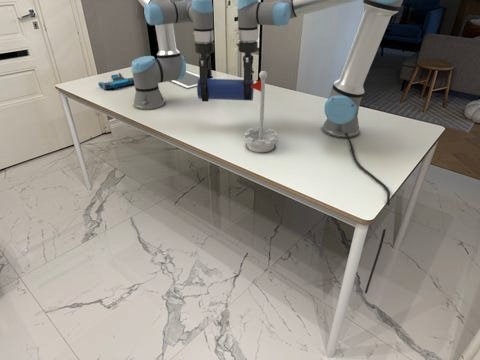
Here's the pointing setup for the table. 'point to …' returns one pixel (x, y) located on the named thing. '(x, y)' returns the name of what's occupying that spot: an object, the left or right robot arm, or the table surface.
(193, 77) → the tablet
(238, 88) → the rod
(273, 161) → the table surface
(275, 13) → the right robot arm
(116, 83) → the submachine gun
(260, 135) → the flag stand
